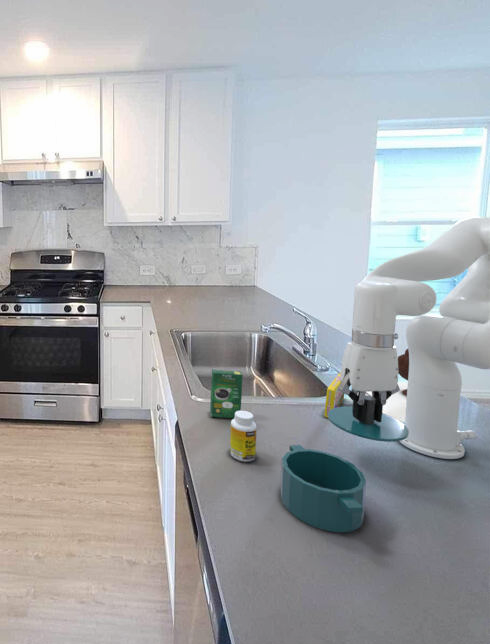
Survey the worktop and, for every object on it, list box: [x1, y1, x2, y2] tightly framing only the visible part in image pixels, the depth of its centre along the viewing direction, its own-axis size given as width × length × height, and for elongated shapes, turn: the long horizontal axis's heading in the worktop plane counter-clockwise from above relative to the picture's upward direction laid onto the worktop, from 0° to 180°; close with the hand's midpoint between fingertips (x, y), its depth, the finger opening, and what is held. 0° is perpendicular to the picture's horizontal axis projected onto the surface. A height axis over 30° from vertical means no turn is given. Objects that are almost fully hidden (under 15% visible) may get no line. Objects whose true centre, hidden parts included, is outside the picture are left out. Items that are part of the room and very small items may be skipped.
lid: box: [327, 394, 409, 443], centre depth 90 cm, size 15×15×7 cm
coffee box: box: [209, 369, 244, 420], centre depth 113 cm, size 8×3×13 cm, turn 79°
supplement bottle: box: [229, 410, 257, 463], centre depth 94 cm, size 6×6×10 cm
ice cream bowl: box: [397, 348, 409, 397], centre depth 124 cm, size 11×11×15 cm
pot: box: [280, 444, 367, 533], centre depth 78 cm, size 14×19×8 cm
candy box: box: [323, 372, 345, 419], centre depth 117 cm, size 16×2×8 cm, turn 137°
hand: (366, 418), depth 90 cm, fingers closed on lid, 2 cm apart
